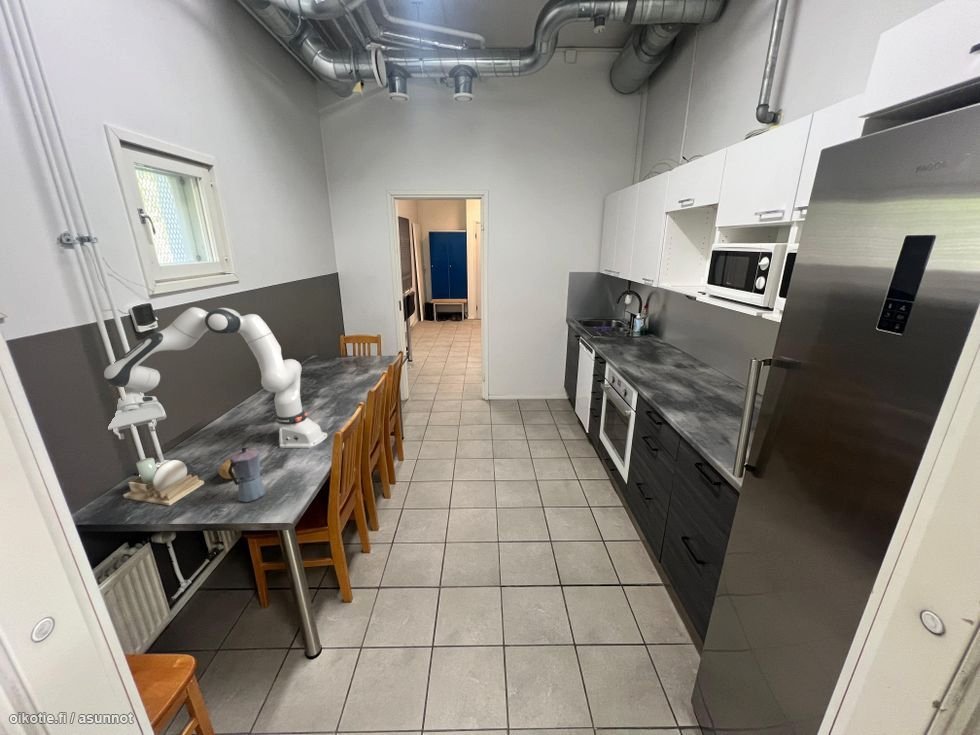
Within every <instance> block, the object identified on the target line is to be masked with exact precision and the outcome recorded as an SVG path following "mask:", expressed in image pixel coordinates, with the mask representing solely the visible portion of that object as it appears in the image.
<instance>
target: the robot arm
mask: <svg viewBox="0 0 980 735" xmlns="http://www.w3.org/2000/svg"><path fill="white" fill-rule="evenodd" d="M207 331H210V332H212V333H214V334H218V335H226V334H233V333H238V334H240V335H241V337H242V338H243V339H244V341H245V342H246V344H247V346H248V347H249V349H250V350H251V352H252V353H253V355H254V357H255V359H256V361H257V363H258V367H259V369H260V373H261V380H260V383H261V386H262V387H263V389H264V390H265V391H268V392H270V393H275V396H274V405H275V411H276V415H275V417H276V422H277V423H278V434H279V436H278V444H279V448H280V449H312V448H314V447H316V446H318V445H319V444H321V443H322V442H323V441H324V440H326V439H327V437H328V433H327V432H324V431H322V429H321V426H320V425H319V424H318V423H317V422H315V421H314V420H312V419H310V418H309V417H308V416H307V415H309V414H308V411H307V412H305V410H304V409H303V407H302V406H303V405H302V400H301V375H302V370H303V369H302V368H303V367H302V365H301V363H300V362H299V361H297V360H296V359H293V358H288V359H283V355H282V347H281V345H280V344H279V342H278V340H277V339H276V337H275V335H274V333H273V332H272V330H271V329H270V327H269V326H268V324H267V323H266V322H265V321H264V320H263V319H262V317H261V316H260V315H258V314H255V313H248V314H246V315H241V313H240V312H239V311H238V310H236V309H235V308H230V307H218V308H214V309H212V310H210V311H209V312H208V311H207V310H205V309H203V308H200V307H195V306H193V307H188V309H186V310H184V311H183V312H182V313H181V314H179V315H178V316H177V318H175V319H174V320H173V322H171V323H170V324H169V325H168V326H167V327H166V328H164V329H162V330H160V331H157V332H153V333H150V334H149V335H148V336H146V337H145V338H143V339H142V340H141V341H140V342H138V343H137V344H136V345H134V346H133V347H132V348H130V349H129V350H128V351H127V352H126V353H125V354H124V355H122V356H120V357H119V358H118V359H116V360H114V361H115V362H114V361H113V362H114V364H113V365H111V363H110V364H108V365H107V366H106V367H105V368H104V370H103V373H102V376H103V379H104V381H105V382H106V384H108V385H109V387H110V386H116V387H125V390H126V403H125V404H124V402H123V401H122V400H121V398H119V399H118V404H117V411H116V413H115V417H114V418H113V419H112V421H111V423H110V424H109V426H108V430H112V429H113V434H114V435H116V436H117V437H118V440H124V439H125V438H126V437H125V435H124V433H120V431H122V430H125V429H130V428H132V427H131V424H133V425H134V427H133V428H135V427H139V426H142V425H147V424H150V423H152V425H151V426H149V431H150V432H156V427H157V424H158V423H157V422H160V421H163V420H165V419H167V414H166V410H165V409H164V406H163V405H162V403H160V402H159V400H158V398H157V396H154V395H153V396H151V395H149V396H147V395H143V394H146V393H148V392H151V391H153V390H155V389H156V388H158V387H159V385H160V384H161V382H162V375H161V373H160V371H159V370H157V369H155V368H151V367H148V366H143V365H140V364H141V363H142V362H144V361H145V360H146V359H147V358H149V357H150V356H151V355H153V354H154V353H158V352H163V351H183V350H188V349H190V348H192V347H193V346H194V345H196V343H197V342H198V341H199V340H200V339H201V338H202V337H203V336H204V334H205V333H206V332H207ZM140 392H141V393H142V395H141V394H140ZM125 406H127V408H126V407H125ZM127 411H128V412H127Z"/></svg>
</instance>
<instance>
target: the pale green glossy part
mask: <svg viewBox="0 0 980 735" xmlns="http://www.w3.org/2000/svg"><path fill="white" fill-rule="evenodd" d="M135 464H136V468H137V470H138V473H139V476H140V477H141V480H142V483H143V484H149V483H150V482H152V481H153V476H154V473H155V472H156V470H157V469H158V467H157V464H156V462H155V458H154V457H147V458H146V457H145V458H143V459H141V460H138V461H137V462H136V463H135Z"/></svg>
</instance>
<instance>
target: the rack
mask: <svg viewBox="0 0 980 735" xmlns="http://www.w3.org/2000/svg"><path fill="white" fill-rule="evenodd" d="M127 483H128V487H129V490H130V491H128V492H127V493H124V494H123V497H124V499H131V500H135V501H141V502H148V503H151V504H152V503H153V504H157V505H158V504H159V505H165V506H171V505H173V504H174V503H176V502H178V501H179V500H181V499H182V498H184V497H185V496H187V495H189V494H190V493H192V492H194V491H195V490H197V489H198V488H200V487H201V486H203V485H204V484H205V481H204V480H201V479H200V478H199V477H198V475H194V476H193V475H192V474H191V473H190V474H188V468H187V465H186V464H185V463H184V462H183V461H182V460H178V459H171V460H167V461H165V462H163V463H162V464H160V465H159V467H157V470H156V472H155V473H154V476H153V481H152V482H150V483H149V484H143V483H142V480H141V477H140V475H139V476H138V477H136V478H134V479H132V480H130V481H128V482H127Z"/></svg>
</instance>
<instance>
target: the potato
mask: <svg viewBox="0 0 980 735" xmlns="http://www.w3.org/2000/svg"><path fill="white" fill-rule="evenodd" d="M230 464H231V461H230V458H228V459H227V460H225V461H224V462H223V463H222V464H221V465H220V467H219V469H218V474H219V476H220V477H221V478H223V479H227V480H230V479H231V480H232V478H231V476H230V475H229V472H228V470H229V467H230ZM232 472H233V473H234V477H235V479H238V478H237V476H236V475H235V472H234V470H233V468H232Z"/></svg>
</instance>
